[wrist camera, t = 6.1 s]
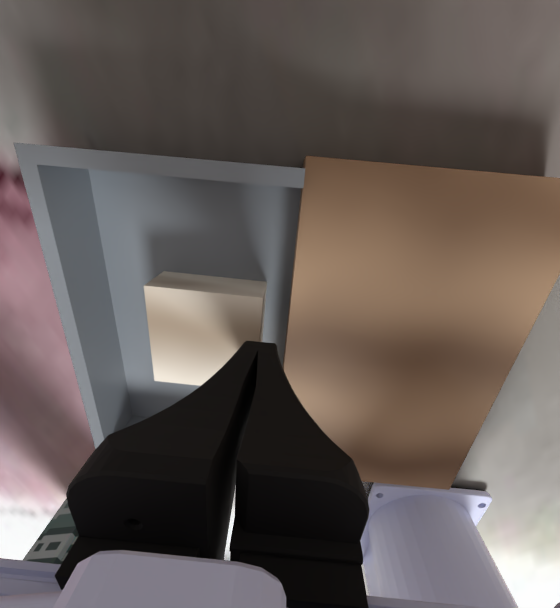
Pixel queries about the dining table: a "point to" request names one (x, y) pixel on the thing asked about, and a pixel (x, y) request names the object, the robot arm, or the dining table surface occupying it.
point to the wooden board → (414, 306)
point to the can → (55, 539)
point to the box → (151, 256)
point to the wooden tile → (200, 323)
